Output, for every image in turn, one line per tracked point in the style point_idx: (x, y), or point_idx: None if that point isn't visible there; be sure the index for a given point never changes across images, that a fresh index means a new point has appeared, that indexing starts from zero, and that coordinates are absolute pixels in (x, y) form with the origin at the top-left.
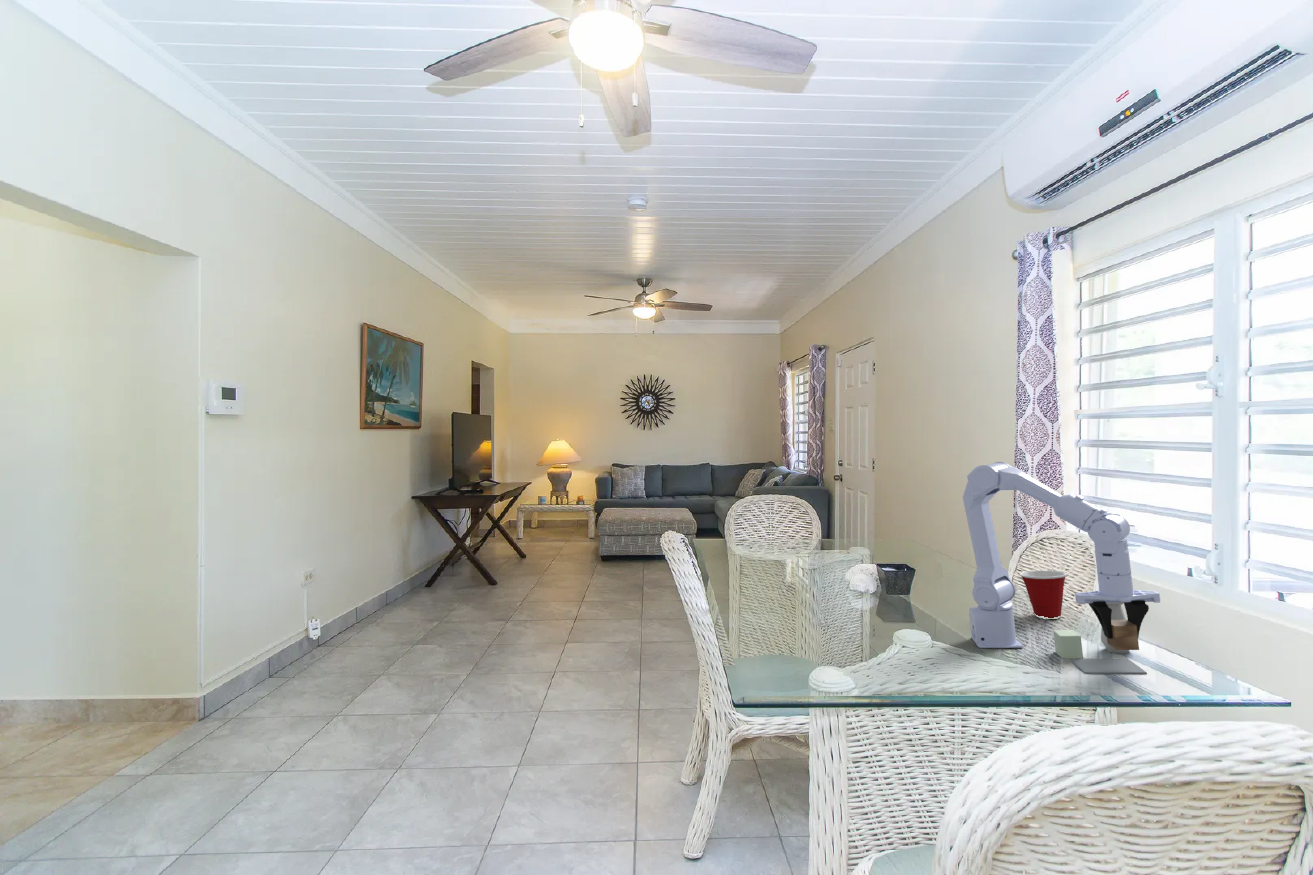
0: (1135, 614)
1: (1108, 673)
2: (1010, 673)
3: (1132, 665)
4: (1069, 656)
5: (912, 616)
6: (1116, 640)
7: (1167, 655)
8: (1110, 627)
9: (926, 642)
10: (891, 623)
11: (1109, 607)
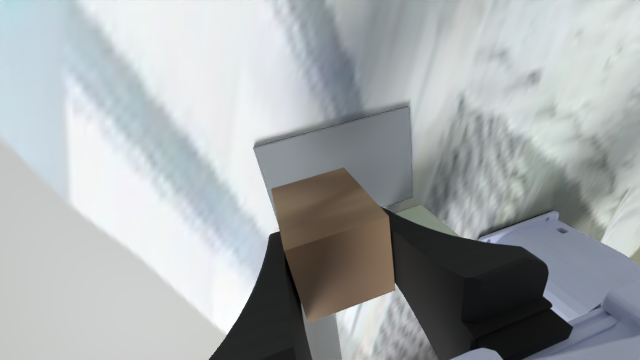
0: (291, 312)
1: (351, 121)
2: (568, 63)
3: None
4: (408, 211)
5: None
6: (354, 184)
7: (185, 296)
8: (391, 222)
9: (620, 214)
10: None
11: None
